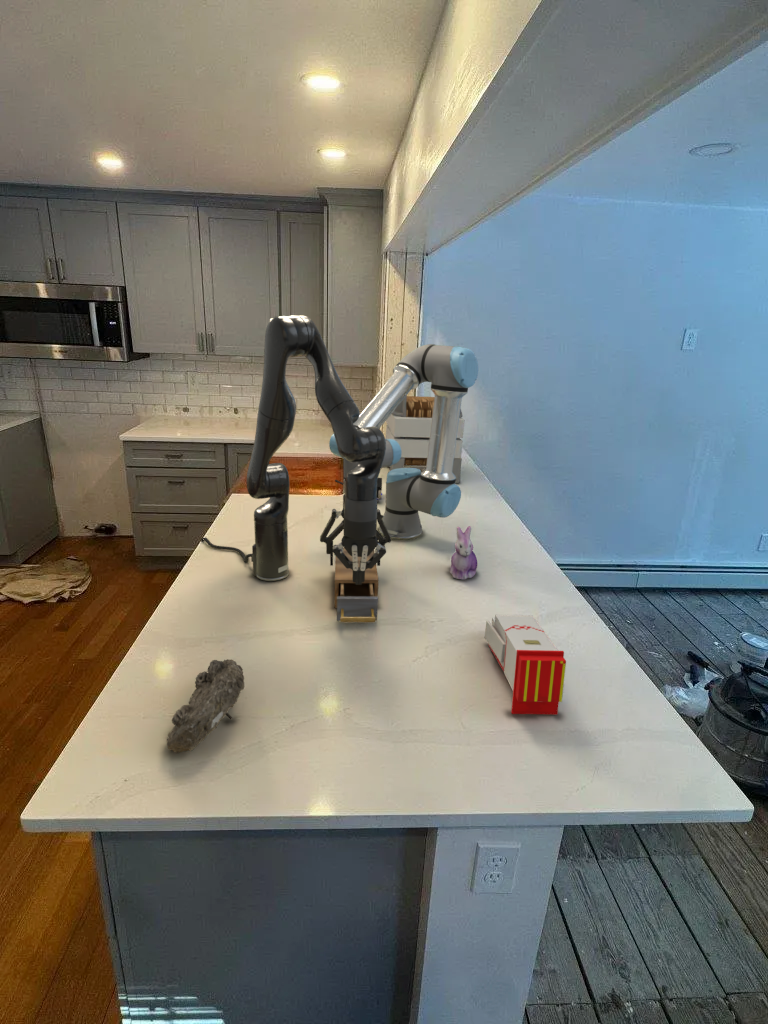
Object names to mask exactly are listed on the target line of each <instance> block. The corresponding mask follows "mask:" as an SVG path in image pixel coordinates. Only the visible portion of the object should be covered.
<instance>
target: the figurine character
mask: <svg viewBox="0 0 768 1024" xmlns="http://www.w3.org/2000/svg"><path fill="white" fill-rule="evenodd" d="M382 491H383V478H382V477H378V479H377V503H379V499H380V500H381V499H382V496H383V492H382Z"/></svg>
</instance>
